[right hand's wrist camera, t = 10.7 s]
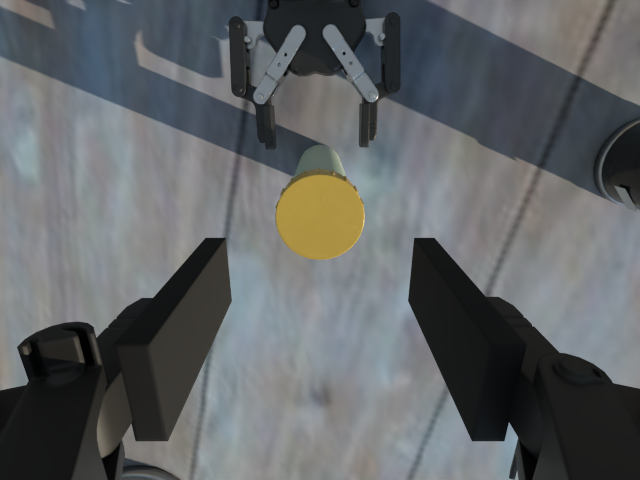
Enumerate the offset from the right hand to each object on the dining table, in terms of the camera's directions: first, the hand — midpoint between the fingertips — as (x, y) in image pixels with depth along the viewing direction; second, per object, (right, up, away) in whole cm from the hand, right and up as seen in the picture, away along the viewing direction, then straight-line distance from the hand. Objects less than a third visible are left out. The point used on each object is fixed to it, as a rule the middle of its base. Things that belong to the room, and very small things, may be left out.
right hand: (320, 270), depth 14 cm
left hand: (0, +10, +19) cm, 22 cm away
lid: (0, +3, +7) cm, 7 cm away
